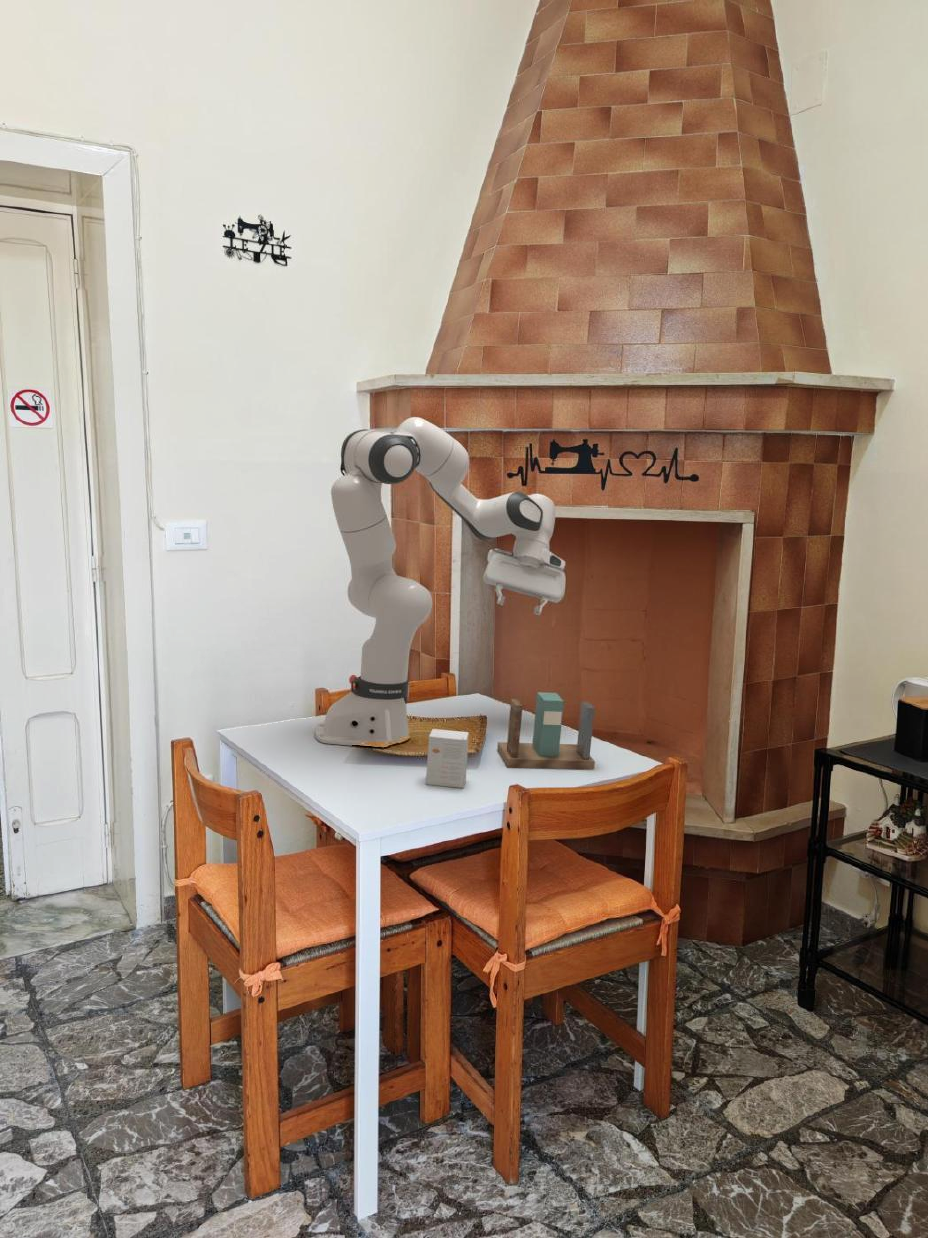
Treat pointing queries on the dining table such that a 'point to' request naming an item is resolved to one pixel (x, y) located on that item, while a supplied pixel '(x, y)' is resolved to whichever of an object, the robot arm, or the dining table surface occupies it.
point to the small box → (447, 758)
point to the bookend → (585, 730)
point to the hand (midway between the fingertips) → (518, 608)
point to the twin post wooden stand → (527, 756)
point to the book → (547, 724)
